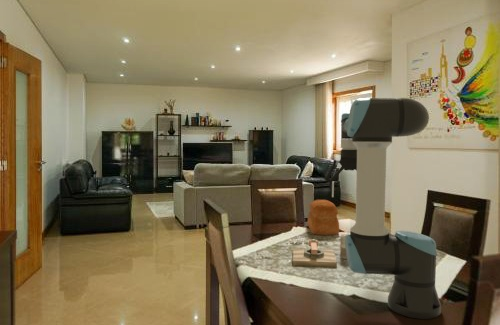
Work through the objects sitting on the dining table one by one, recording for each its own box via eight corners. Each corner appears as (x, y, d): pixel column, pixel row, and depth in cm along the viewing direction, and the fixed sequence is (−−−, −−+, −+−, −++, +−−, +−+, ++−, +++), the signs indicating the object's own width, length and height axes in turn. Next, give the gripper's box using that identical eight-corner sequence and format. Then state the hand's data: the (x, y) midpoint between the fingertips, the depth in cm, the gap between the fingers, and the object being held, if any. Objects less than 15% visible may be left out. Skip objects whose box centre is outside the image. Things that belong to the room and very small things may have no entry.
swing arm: (308, 244, 176) (308, 238, 176) (317, 244, 176) (317, 238, 176) (309, 254, 161) (309, 247, 161) (319, 254, 160) (319, 248, 160)
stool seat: (336, 267, 156) (336, 258, 156) (292, 265, 159) (292, 256, 158) (333, 254, 174) (333, 246, 174) (293, 252, 176) (293, 244, 176)
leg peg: (351, 259, 167) (351, 236, 166) (340, 258, 168) (341, 236, 167) (349, 256, 171) (350, 234, 171) (339, 255, 172) (340, 233, 171)
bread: (332, 225, 235) (332, 197, 234) (340, 236, 209) (341, 204, 208) (306, 225, 235) (306, 197, 234) (312, 235, 209) (312, 204, 208)
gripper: (378, 149, 166) (377, 197, 168) (320, 148, 172) (320, 195, 173) (380, 149, 159) (379, 199, 160) (320, 148, 164) (319, 197, 166)
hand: (348, 197), depth 167 cm, fingers open, 13 cm apart
